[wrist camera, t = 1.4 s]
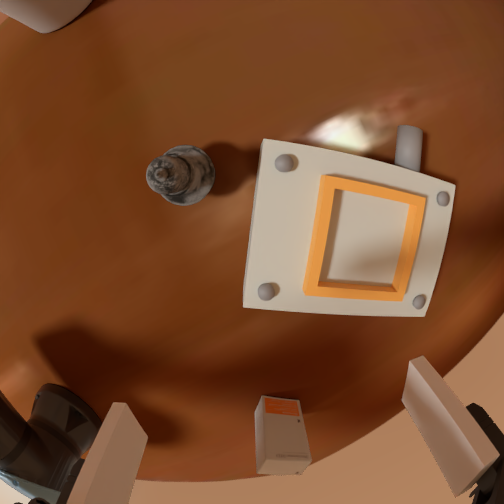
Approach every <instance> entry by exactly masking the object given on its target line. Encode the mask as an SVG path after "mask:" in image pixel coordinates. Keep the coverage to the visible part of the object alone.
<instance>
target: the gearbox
mask: <svg viewBox="0 0 504 504" xmlns="http://www.w3.org/2000/svg"><path fill="white" fill-rule="evenodd" d="M422 137H423V131H422V130H421V129H419V128H417V127H413V126H408V125H400V126H398V131H397V144H396V155H395V164H394V165H391V164H388V163H384V162H380V161H377V160H373V159H369V158H365V157H361V156H356V155H352V154H348V153H343V152H338V151H334V150H329V149H324V148H319V147H313V146H308V145H302V144H296V143H290V142H284V141H277V140H270V139H263V142H262V144H261V147H260V155H259V163H258V171H257V179H256V187H255V195H254V203H253V212H252V220H251V228H250V236H249V244H248V252H247V261H246V269H245V277H244V286H243V307H246V308H256V309H267V310H279V311H291V312H305V313H321V314H339V315H363V316H405V317H425V314H426V311H427V308H428V305H429V302H430V299H431V296H432V293H433V290H434V286H435V283H436V279H437V276H438V272H439V269H440V265H441V261H442V257H443V253H444V248H445V244H446V239H447V235H448V230H449V225H450V219H451V213H452V207H453V201H454V193H455V185H454V184H451V183H448V182H445V181H442V180H440V179H437V178H434V177H431V176H428V175H425V174H422V173H419V172H420V163H421V152H422Z"/></svg>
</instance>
